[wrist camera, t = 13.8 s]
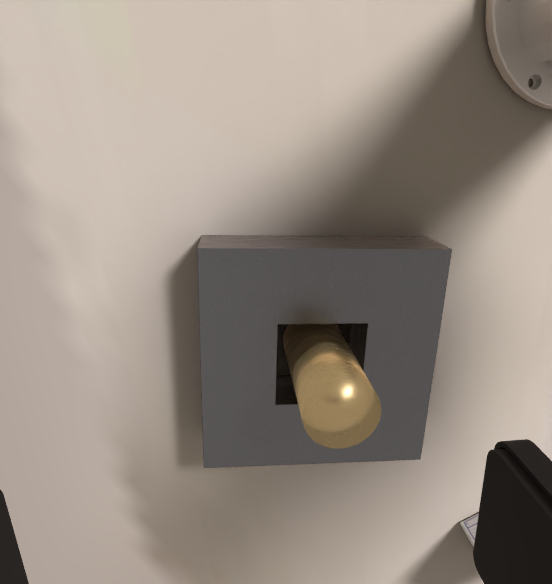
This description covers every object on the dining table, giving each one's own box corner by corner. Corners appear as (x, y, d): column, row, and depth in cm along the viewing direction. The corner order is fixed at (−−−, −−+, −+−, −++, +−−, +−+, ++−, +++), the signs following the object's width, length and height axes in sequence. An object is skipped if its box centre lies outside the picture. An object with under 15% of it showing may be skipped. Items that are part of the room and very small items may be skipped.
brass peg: (342, 312, 34) (385, 378, 24) (338, 365, 35) (377, 447, 26) (284, 312, 33) (304, 379, 24) (282, 366, 35) (300, 449, 25)
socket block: (426, 237, 32) (452, 249, 29) (401, 427, 37) (420, 459, 34) (201, 235, 31) (197, 248, 27) (206, 433, 36) (203, 467, 32)
